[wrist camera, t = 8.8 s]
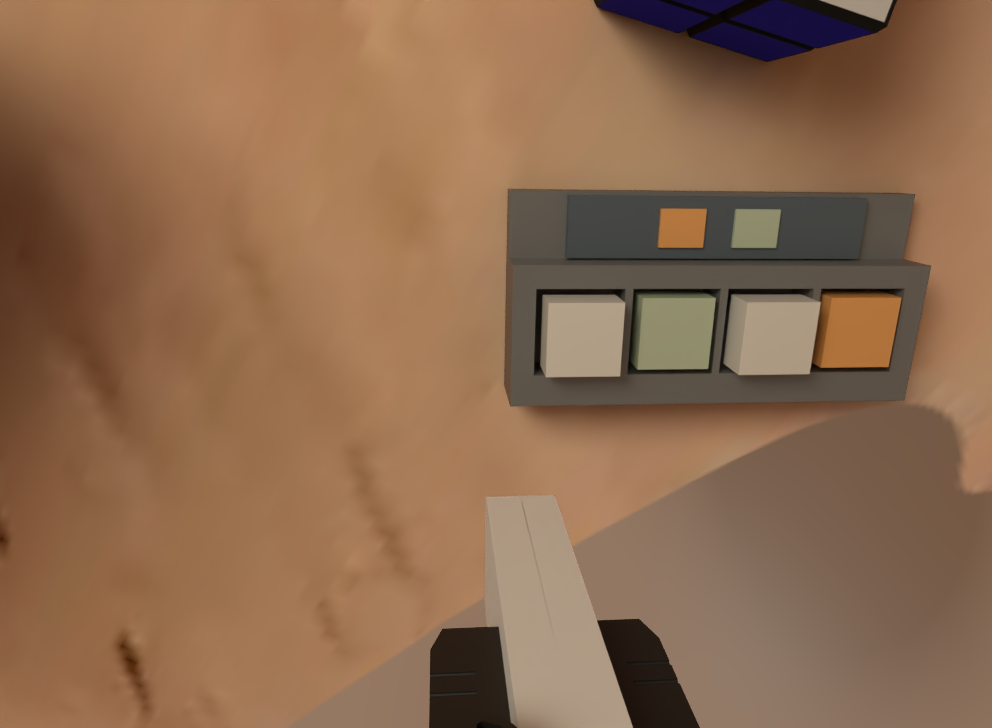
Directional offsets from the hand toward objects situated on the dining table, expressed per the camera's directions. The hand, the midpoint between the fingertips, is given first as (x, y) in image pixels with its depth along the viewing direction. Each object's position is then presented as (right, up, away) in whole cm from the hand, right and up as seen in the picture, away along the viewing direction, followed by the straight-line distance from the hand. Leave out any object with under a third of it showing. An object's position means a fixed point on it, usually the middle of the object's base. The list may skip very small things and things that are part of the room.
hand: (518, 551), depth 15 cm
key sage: (+9, +6, +22) cm, 25 cm away
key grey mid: (+14, +6, +22) cm, 26 cm away
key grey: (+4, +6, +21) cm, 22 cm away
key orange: (+19, +6, +23) cm, 30 cm away
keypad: (+11, +8, +24) cm, 28 cm away
